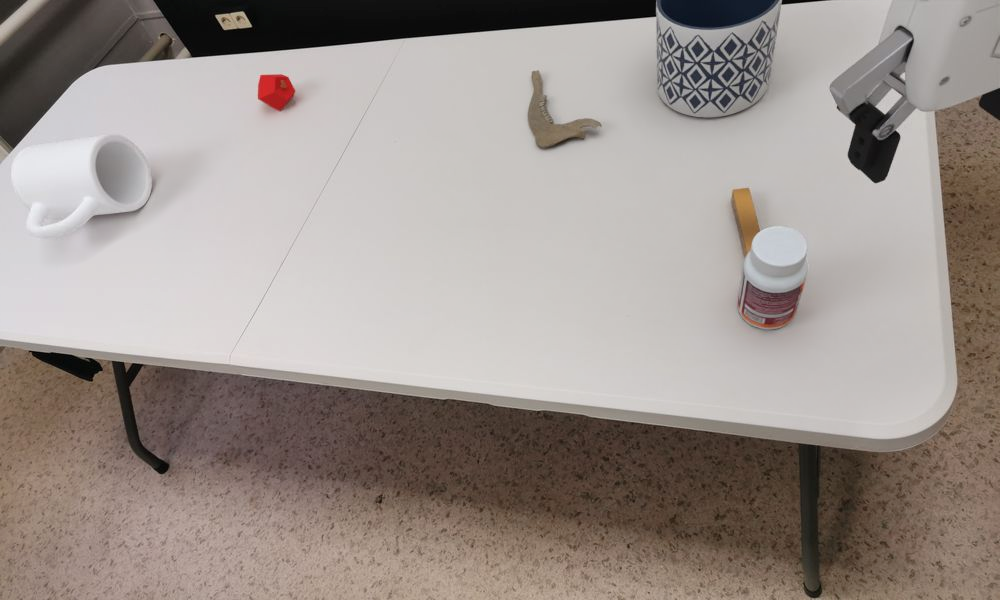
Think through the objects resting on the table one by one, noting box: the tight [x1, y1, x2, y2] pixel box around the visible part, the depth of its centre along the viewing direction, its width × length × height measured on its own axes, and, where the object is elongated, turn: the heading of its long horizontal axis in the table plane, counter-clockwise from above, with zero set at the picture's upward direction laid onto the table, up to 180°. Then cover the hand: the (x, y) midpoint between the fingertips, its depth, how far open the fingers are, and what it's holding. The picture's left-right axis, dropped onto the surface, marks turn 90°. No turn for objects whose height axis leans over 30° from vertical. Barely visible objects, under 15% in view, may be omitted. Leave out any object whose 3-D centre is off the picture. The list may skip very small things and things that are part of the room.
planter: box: [655, 0, 783, 118], centre depth 87 cm, size 16×16×14 cm
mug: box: [10, 133, 153, 240], centre depth 103 cm, size 19×16×13 cm
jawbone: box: [527, 69, 603, 148], centre depth 96 cm, size 9×20×2 cm, turn 28°
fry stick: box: [730, 187, 761, 259], centre depth 75 cm, size 12×2×2 cm, turn 178°
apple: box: [257, 73, 296, 112], centre depth 113 cm, size 7×7×8 cm
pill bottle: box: [737, 225, 809, 330], centre depth 65 cm, size 6×6×11 cm
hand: (932, 142), depth 42 cm, fingers open, 9 cm apart
